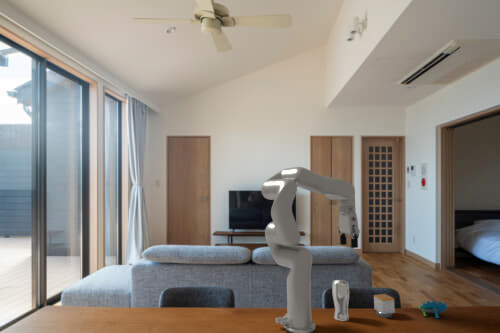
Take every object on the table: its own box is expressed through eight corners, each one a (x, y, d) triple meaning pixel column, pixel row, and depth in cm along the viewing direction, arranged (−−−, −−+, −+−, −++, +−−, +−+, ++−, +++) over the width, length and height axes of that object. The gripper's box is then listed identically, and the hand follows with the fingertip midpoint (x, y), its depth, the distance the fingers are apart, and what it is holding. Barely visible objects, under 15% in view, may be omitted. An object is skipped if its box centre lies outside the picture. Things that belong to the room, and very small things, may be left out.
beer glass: (350, 322, 119) (349, 284, 120) (333, 320, 121) (332, 283, 122) (349, 315, 125) (348, 280, 127) (333, 314, 127) (331, 279, 129)
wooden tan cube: (394, 312, 124) (394, 298, 125) (383, 314, 123) (382, 299, 123) (385, 307, 130) (385, 294, 130) (374, 309, 128) (373, 295, 129)
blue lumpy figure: (446, 310, 127) (446, 298, 122) (451, 324, 123) (451, 312, 117) (418, 310, 131) (417, 299, 126) (422, 324, 126) (421, 312, 121)
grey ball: (383, 319, 122) (382, 306, 123) (373, 313, 128) (372, 301, 129) (396, 317, 124) (395, 305, 124) (385, 312, 130) (385, 300, 130)
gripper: (364, 210, 133) (366, 248, 131) (344, 209, 150) (346, 243, 148) (350, 210, 131) (352, 249, 129) (331, 209, 148) (332, 243, 146)
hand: (348, 246), depth 138 cm, fingers open, 9 cm apart
